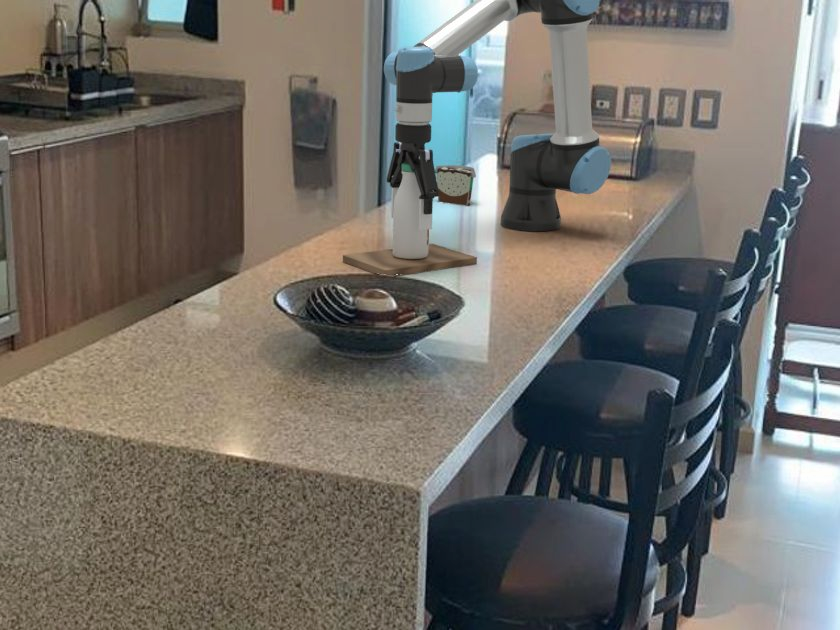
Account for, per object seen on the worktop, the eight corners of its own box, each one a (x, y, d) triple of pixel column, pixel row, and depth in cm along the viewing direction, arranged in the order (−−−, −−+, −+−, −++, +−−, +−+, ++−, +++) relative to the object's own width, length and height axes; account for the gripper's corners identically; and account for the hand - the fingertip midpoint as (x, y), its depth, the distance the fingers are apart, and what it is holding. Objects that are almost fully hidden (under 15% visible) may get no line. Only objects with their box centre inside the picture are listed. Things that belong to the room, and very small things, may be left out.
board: (432, 250, 263) (432, 243, 263) (476, 264, 251) (477, 257, 250) (342, 262, 249) (342, 255, 249) (385, 277, 237) (385, 270, 236)
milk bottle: (424, 261, 245) (427, 166, 240) (388, 258, 246) (390, 164, 241) (431, 253, 252) (434, 161, 247) (396, 251, 254) (398, 159, 248)
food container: (483, 203, 322) (484, 167, 319) (471, 207, 317) (473, 170, 314) (445, 198, 328) (446, 163, 326) (433, 201, 323) (434, 165, 321)
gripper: (372, 116, 251) (371, 213, 257) (424, 130, 229) (421, 235, 235) (403, 116, 254) (401, 211, 260) (457, 129, 233) (453, 233, 238)
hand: (410, 223), depth 247 cm, fingers open, 13 cm apart
